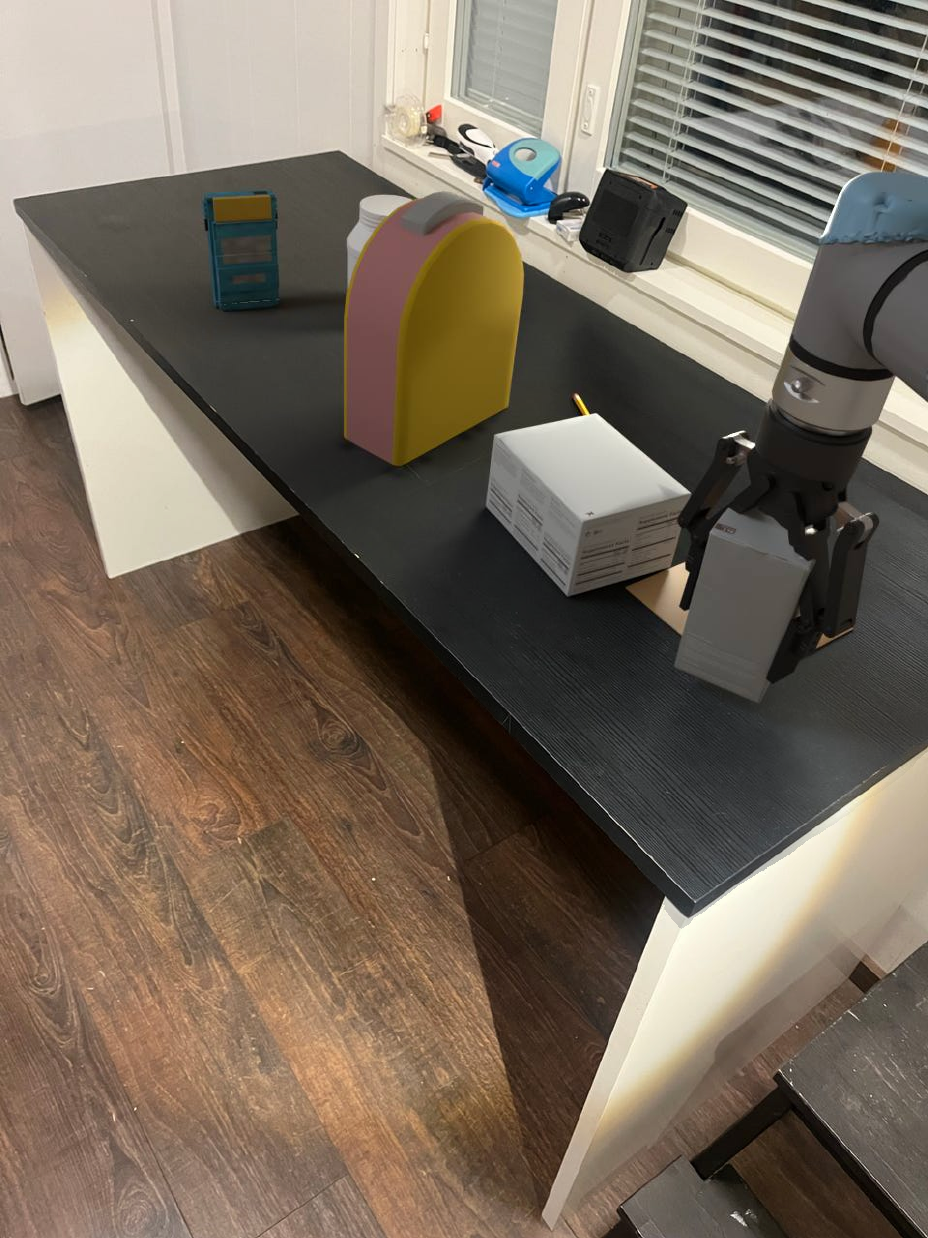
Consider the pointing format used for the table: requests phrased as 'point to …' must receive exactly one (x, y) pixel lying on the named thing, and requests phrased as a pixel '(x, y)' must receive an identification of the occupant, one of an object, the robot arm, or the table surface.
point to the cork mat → (674, 598)
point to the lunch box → (430, 327)
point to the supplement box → (584, 502)
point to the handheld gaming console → (242, 248)
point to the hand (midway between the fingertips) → (734, 638)
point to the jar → (370, 223)
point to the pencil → (580, 405)
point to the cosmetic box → (742, 603)
